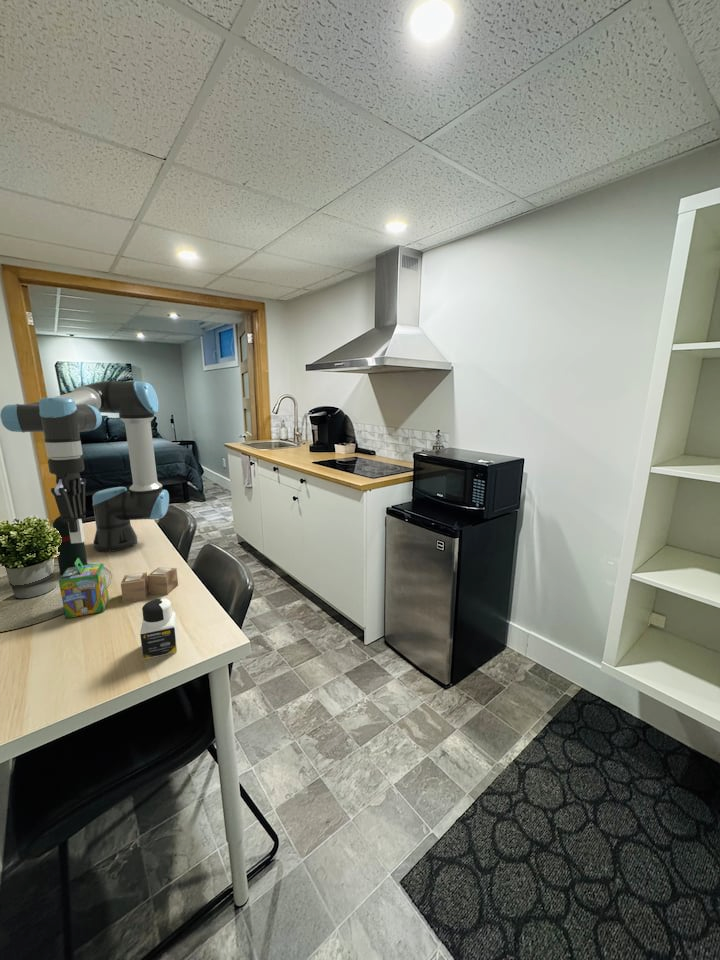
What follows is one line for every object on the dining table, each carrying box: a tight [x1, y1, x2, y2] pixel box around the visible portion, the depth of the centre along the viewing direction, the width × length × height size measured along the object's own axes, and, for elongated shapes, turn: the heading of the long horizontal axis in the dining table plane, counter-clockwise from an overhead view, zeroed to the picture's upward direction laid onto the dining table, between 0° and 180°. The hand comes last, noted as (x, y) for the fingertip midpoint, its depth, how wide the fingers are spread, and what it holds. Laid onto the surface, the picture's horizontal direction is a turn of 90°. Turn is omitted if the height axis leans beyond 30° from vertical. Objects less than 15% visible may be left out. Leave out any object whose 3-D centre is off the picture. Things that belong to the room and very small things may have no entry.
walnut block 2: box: [147, 567, 179, 596], centre depth 122 cm, size 6×6×6 cm
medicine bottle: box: [139, 598, 179, 661], centre depth 93 cm, size 7×7×12 cm
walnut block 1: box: [120, 572, 149, 603], centre depth 118 cm, size 6×6×6 cm
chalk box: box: [58, 558, 109, 620], centre depth 110 cm, size 9×9×15 cm
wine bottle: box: [52, 515, 89, 577], centre depth 131 cm, size 8×10×30 cm
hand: (78, 542), depth 107 cm, fingers closed
